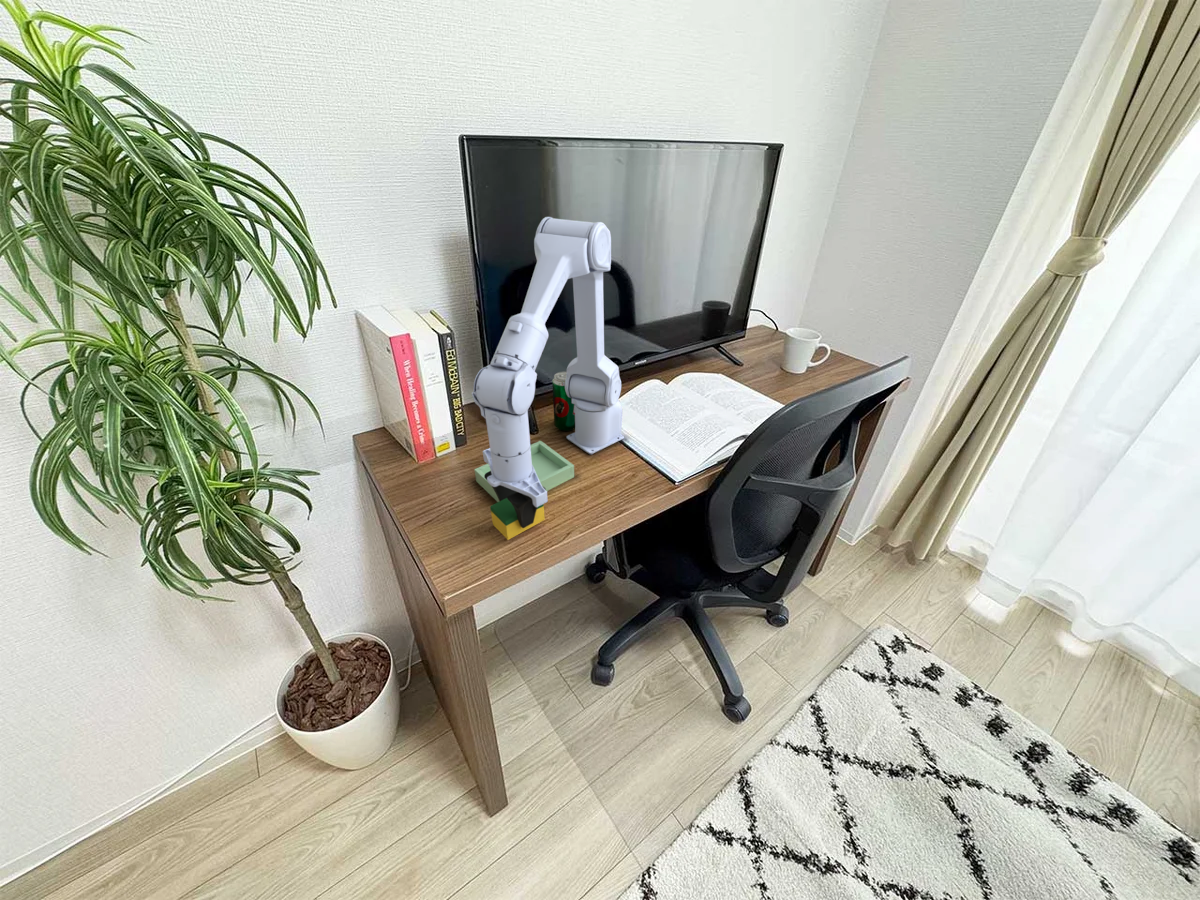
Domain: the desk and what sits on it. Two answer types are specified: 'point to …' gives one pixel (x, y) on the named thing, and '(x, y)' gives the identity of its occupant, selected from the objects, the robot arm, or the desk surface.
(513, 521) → the sponge
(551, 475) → the tray
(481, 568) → the desk surface
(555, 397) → the soda can
